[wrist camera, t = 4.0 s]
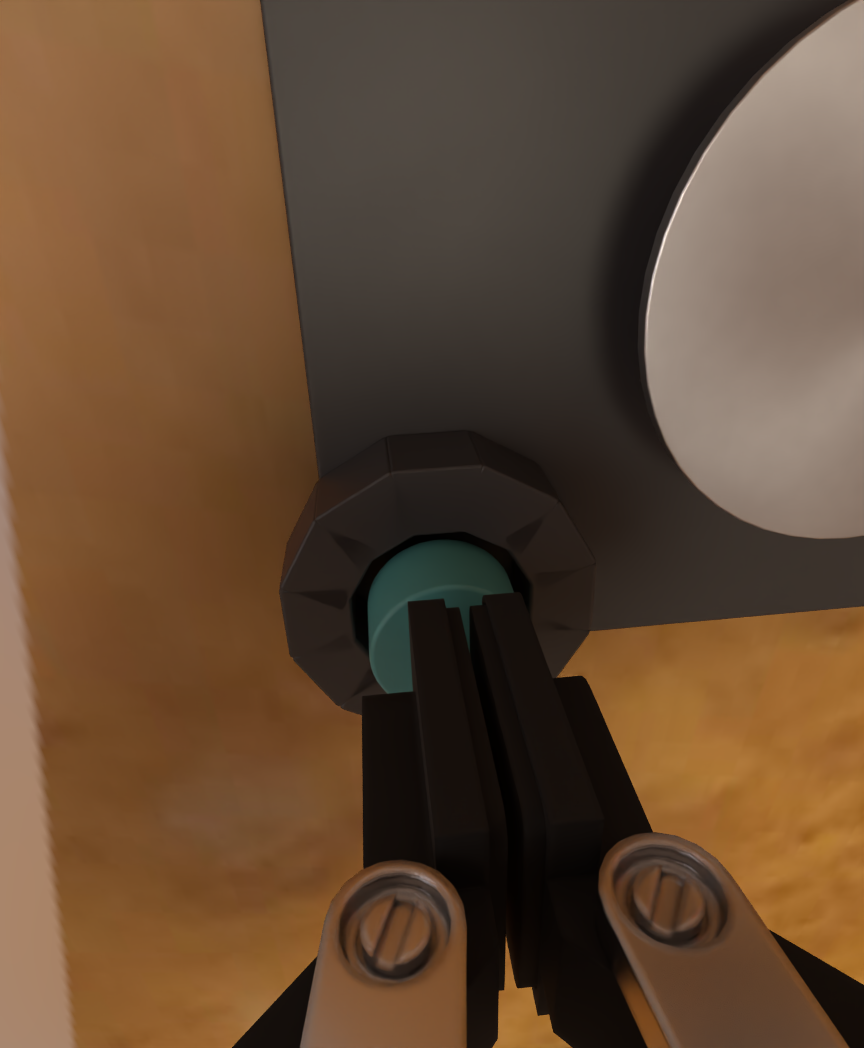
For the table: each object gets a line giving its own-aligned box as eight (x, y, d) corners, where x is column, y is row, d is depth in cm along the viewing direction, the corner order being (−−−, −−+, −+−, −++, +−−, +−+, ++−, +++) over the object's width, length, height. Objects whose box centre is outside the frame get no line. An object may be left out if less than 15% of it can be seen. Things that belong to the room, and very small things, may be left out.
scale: (311, 645, 16) (303, 742, 13) (207, -68, 10) (155, -146, 7) (920, 590, 17) (1023, 670, 14) (1158, -85, 11) (1410, -159, 8)
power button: (372, 664, 13) (375, 723, 12) (361, 543, 12) (362, 594, 11) (510, 651, 13) (528, 707, 12) (512, 531, 12) (533, 579, 11)
